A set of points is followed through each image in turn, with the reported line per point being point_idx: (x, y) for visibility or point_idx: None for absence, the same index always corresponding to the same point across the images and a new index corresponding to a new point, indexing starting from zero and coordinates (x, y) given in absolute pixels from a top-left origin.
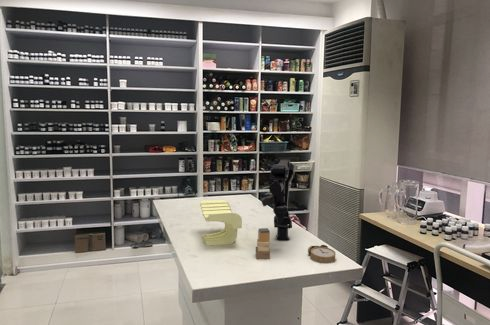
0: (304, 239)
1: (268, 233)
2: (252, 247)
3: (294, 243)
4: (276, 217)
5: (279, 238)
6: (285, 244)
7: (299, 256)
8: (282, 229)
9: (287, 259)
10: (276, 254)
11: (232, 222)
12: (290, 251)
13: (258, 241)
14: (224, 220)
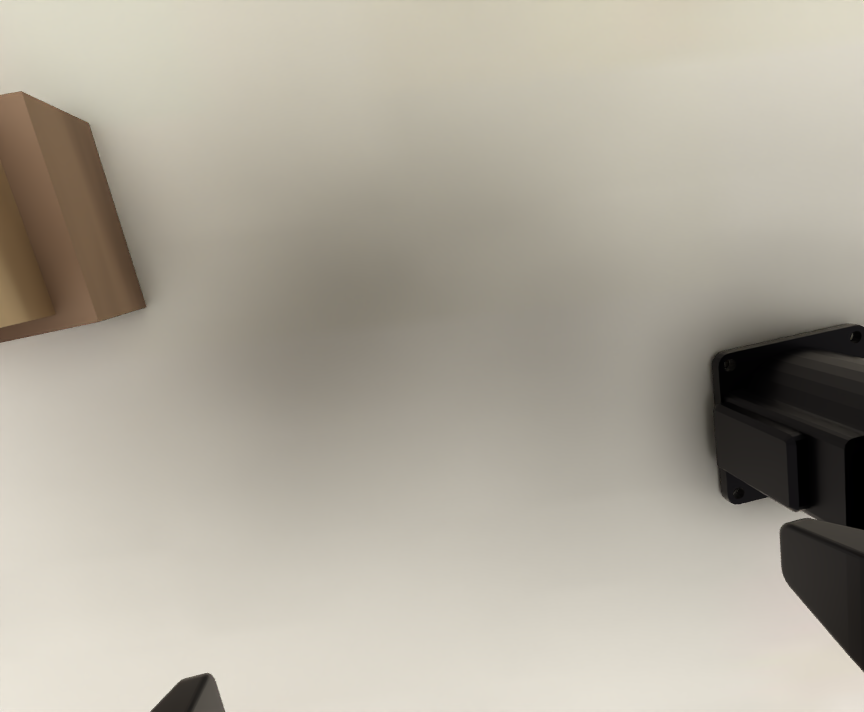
0: (768, 652)
1: None
2: (375, 38)
3: (622, 568)
4: (846, 567)
5: (746, 385)
6: (572, 473)
7: (187, 676)
8: (833, 473)
9: (35, 562)
10: (177, 410)
11: None
12: (334, 560)
13: None
14: None
